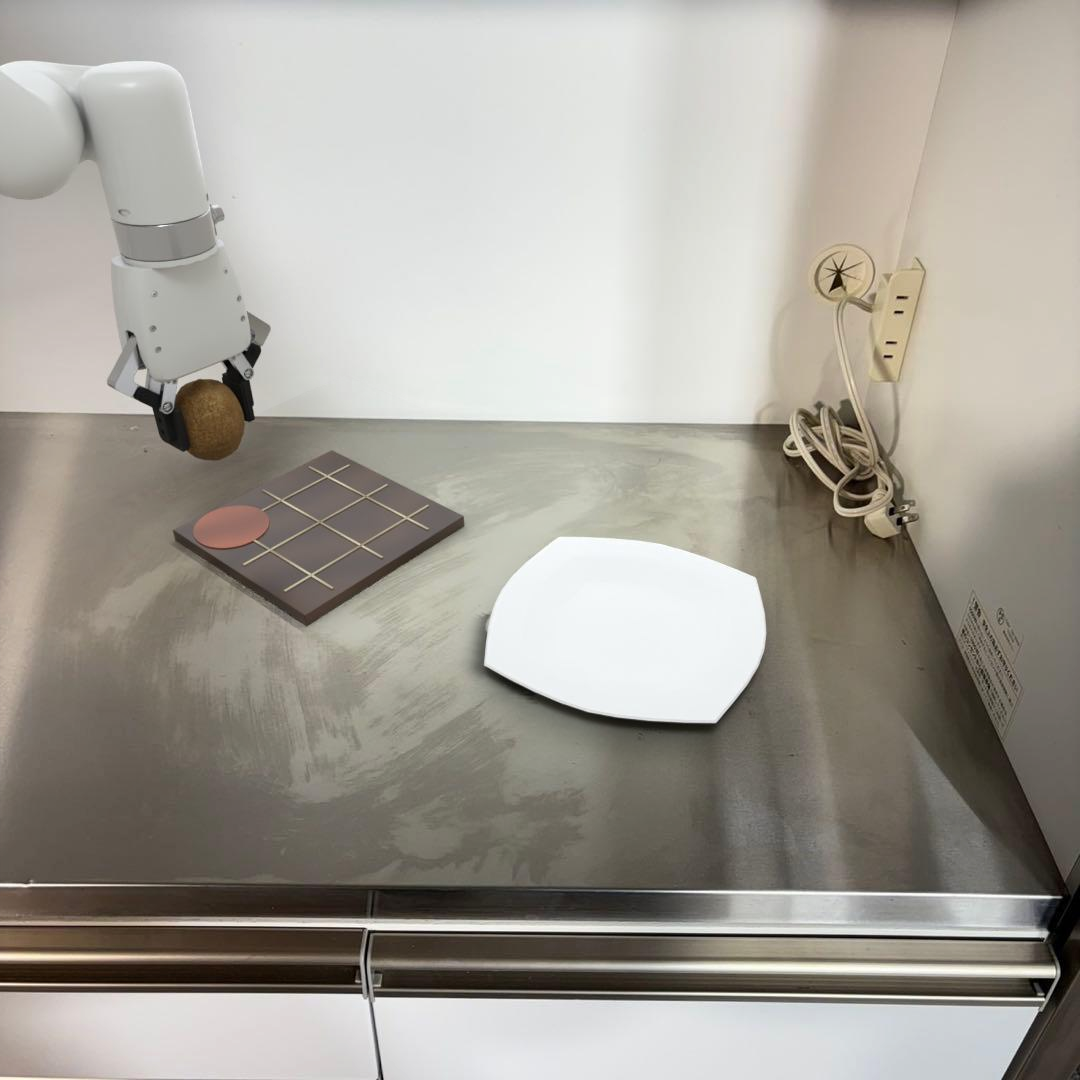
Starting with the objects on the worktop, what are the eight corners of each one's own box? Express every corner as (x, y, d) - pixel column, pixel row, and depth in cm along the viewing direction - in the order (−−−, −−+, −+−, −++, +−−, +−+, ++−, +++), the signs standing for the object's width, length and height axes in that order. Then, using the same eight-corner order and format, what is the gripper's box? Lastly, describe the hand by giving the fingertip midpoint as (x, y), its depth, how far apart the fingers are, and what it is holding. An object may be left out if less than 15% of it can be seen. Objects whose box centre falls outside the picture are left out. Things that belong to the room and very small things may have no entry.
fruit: (218, 435, 93) (201, 358, 89) (265, 452, 91) (251, 374, 86) (167, 463, 89) (146, 384, 84) (215, 483, 86) (196, 402, 82)
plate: (543, 535, 95) (544, 519, 94) (781, 584, 89) (784, 567, 88) (449, 692, 78) (448, 674, 77) (736, 767, 72) (740, 749, 70)
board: (174, 539, 95) (171, 528, 94) (333, 459, 107) (331, 448, 106) (306, 626, 84) (304, 614, 83) (464, 525, 97) (464, 514, 96)
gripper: (228, 200, 85) (262, 385, 95) (39, 252, 74) (101, 455, 85) (282, 218, 81) (312, 409, 92) (90, 275, 70) (149, 484, 81)
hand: (210, 429), depth 88 cm, fingers closed on fruit, 6 cm apart
